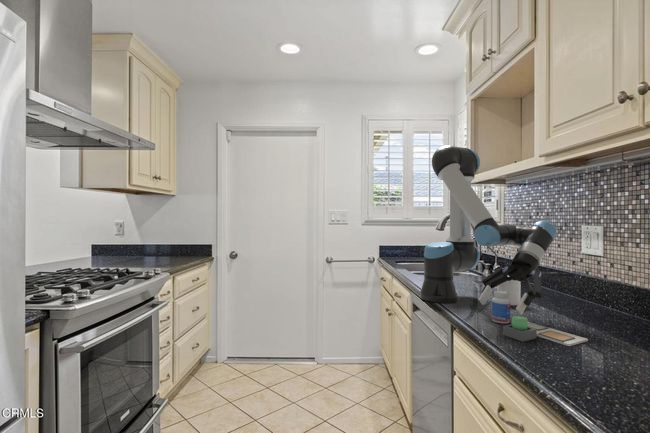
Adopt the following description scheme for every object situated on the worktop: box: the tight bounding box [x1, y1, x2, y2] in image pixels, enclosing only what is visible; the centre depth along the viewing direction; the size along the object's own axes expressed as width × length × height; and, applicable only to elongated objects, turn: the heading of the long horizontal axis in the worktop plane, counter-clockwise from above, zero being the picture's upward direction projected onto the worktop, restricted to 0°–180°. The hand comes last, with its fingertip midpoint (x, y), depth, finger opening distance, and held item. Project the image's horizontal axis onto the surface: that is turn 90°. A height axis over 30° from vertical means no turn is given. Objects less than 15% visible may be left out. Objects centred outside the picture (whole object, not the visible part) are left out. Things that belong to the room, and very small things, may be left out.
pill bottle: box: [491, 290, 511, 325], centre depth 113 cm, size 6×5×10 cm
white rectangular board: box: [528, 321, 589, 347], centre depth 101 cm, size 17×9×1 cm, turn 26°
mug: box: [496, 275, 522, 306], centre depth 139 cm, size 12×8×10 cm
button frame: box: [502, 323, 537, 342], centre depth 99 cm, size 6×6×3 cm
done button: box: [511, 315, 529, 331], centre depth 99 cm, size 4×4×4 cm
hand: (498, 307), depth 112 cm, fingers open, 13 cm apart
